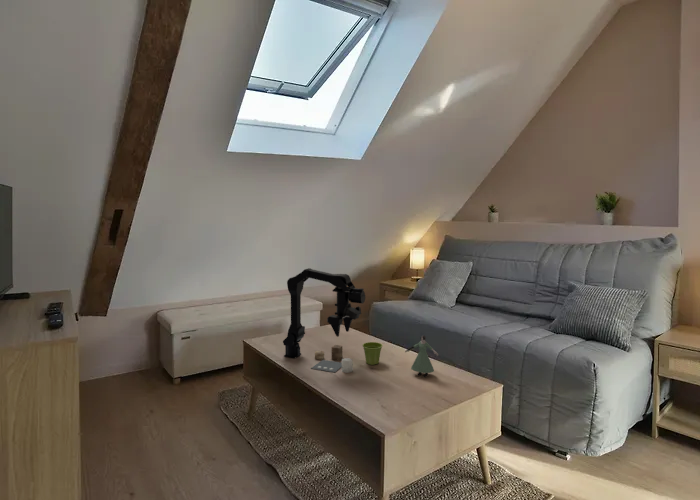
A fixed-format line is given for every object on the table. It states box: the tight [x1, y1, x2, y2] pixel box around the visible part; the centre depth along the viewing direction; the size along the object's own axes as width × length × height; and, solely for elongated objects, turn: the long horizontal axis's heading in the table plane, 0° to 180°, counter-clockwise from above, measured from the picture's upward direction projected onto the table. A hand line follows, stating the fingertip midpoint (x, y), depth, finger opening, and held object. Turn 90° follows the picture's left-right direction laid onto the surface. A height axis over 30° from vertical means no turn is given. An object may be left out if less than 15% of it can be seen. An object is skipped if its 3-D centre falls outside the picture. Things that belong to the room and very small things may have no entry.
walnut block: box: [331, 344, 343, 361], centre depth 225 cm, size 4×4×6 cm
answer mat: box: [310, 359, 342, 373], centre depth 214 cm, size 12×12×1 cm
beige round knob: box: [314, 350, 325, 361], centre depth 225 cm, size 5×5×3 cm
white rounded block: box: [341, 357, 354, 374], centre depth 209 cm, size 5×5×5 cm
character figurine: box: [404, 334, 439, 378], centre depth 203 cm, size 16×8×18 cm, turn 59°
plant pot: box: [362, 341, 383, 366], centre depth 219 cm, size 9×9×9 cm
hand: (342, 334), depth 217 cm, fingers open, 9 cm apart
